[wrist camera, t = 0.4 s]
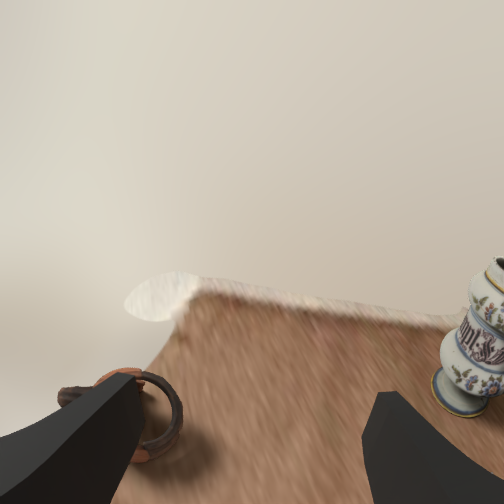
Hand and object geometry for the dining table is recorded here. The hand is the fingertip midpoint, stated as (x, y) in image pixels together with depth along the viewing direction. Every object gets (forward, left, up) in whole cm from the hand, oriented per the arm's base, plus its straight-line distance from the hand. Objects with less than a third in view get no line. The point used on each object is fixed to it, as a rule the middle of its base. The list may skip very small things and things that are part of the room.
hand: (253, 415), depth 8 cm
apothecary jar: (+16, -29, -20) cm, 38 cm away
